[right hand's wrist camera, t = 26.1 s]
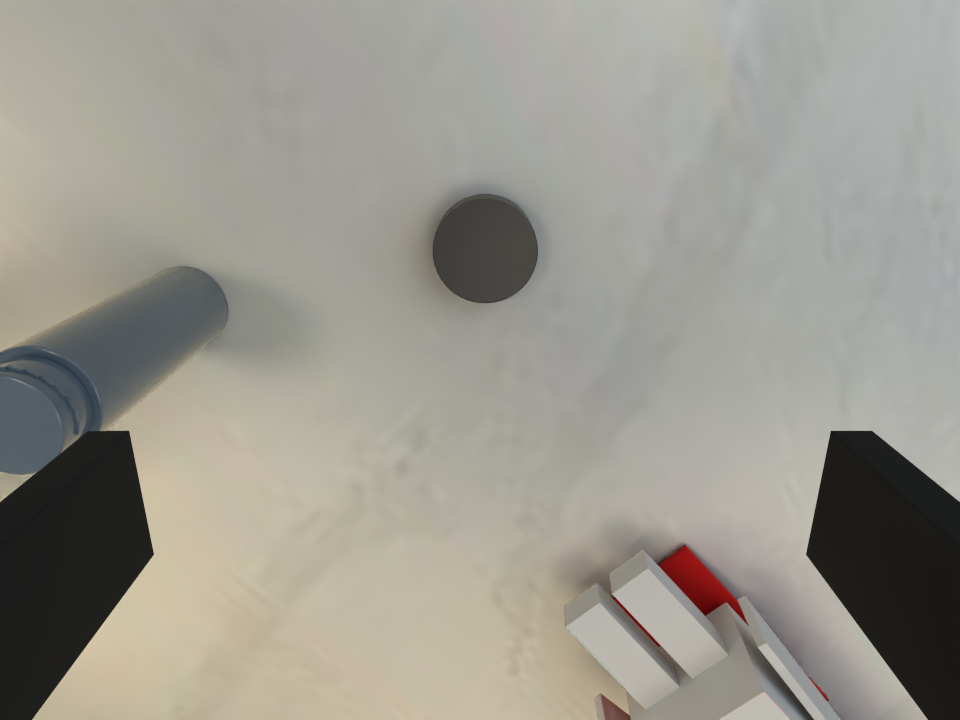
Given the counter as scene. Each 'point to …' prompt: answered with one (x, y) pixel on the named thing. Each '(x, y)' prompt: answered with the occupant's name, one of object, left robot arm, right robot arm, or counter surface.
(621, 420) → the counter surface
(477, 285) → the lid
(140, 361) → the grey cylinder
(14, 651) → the right robot arm
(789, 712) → the toy
